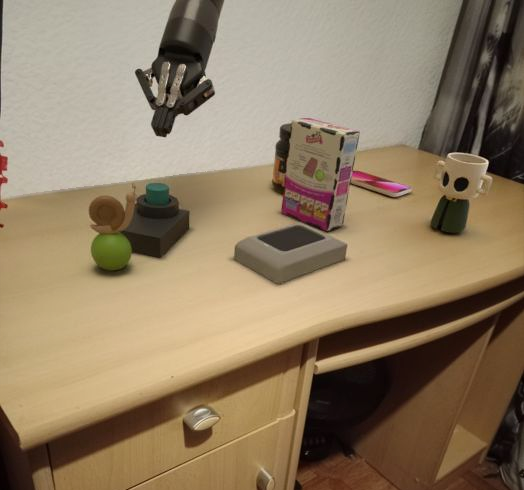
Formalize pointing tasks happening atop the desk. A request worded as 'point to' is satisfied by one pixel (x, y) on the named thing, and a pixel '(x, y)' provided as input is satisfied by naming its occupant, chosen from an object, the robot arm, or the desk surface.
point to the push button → (157, 193)
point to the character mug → (459, 189)
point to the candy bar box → (319, 172)
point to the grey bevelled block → (289, 252)
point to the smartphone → (379, 184)
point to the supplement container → (281, 158)
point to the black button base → (156, 226)
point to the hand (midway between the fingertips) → (159, 133)
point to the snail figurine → (111, 230)
